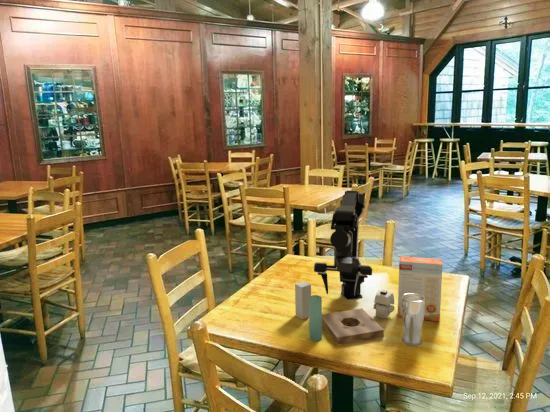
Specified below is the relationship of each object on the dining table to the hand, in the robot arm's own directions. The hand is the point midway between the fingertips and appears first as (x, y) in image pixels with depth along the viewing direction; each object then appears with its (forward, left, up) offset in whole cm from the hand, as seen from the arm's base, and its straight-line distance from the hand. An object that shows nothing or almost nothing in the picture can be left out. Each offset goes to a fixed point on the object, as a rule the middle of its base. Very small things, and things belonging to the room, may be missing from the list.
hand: (341, 295), depth 144 cm
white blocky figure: (-17, -3, -12) cm, 21 cm away
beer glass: (-18, +14, -12) cm, 26 cm away
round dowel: (+10, +3, -12) cm, 16 cm away
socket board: (-3, +1, -12) cm, 12 cm away
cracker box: (-29, 0, -12) cm, 32 cm away
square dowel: (+9, -13, -12) cm, 20 cm away
